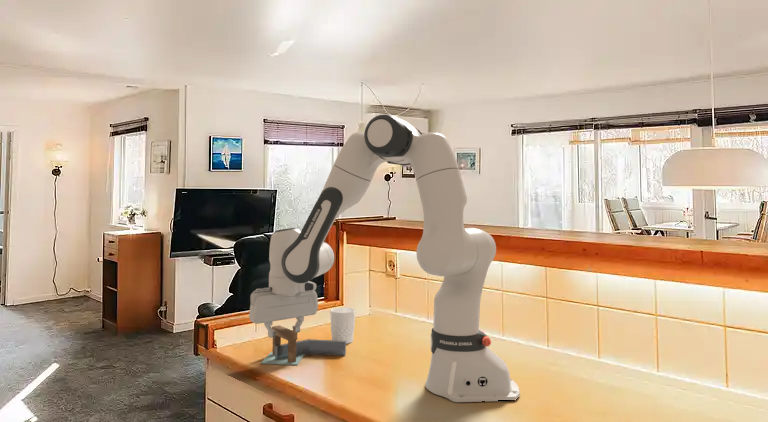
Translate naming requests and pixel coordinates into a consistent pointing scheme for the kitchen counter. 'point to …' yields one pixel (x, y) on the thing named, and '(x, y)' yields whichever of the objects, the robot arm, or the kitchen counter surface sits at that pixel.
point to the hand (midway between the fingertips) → (284, 334)
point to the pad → (281, 360)
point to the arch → (288, 335)
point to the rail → (313, 348)
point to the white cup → (342, 324)
